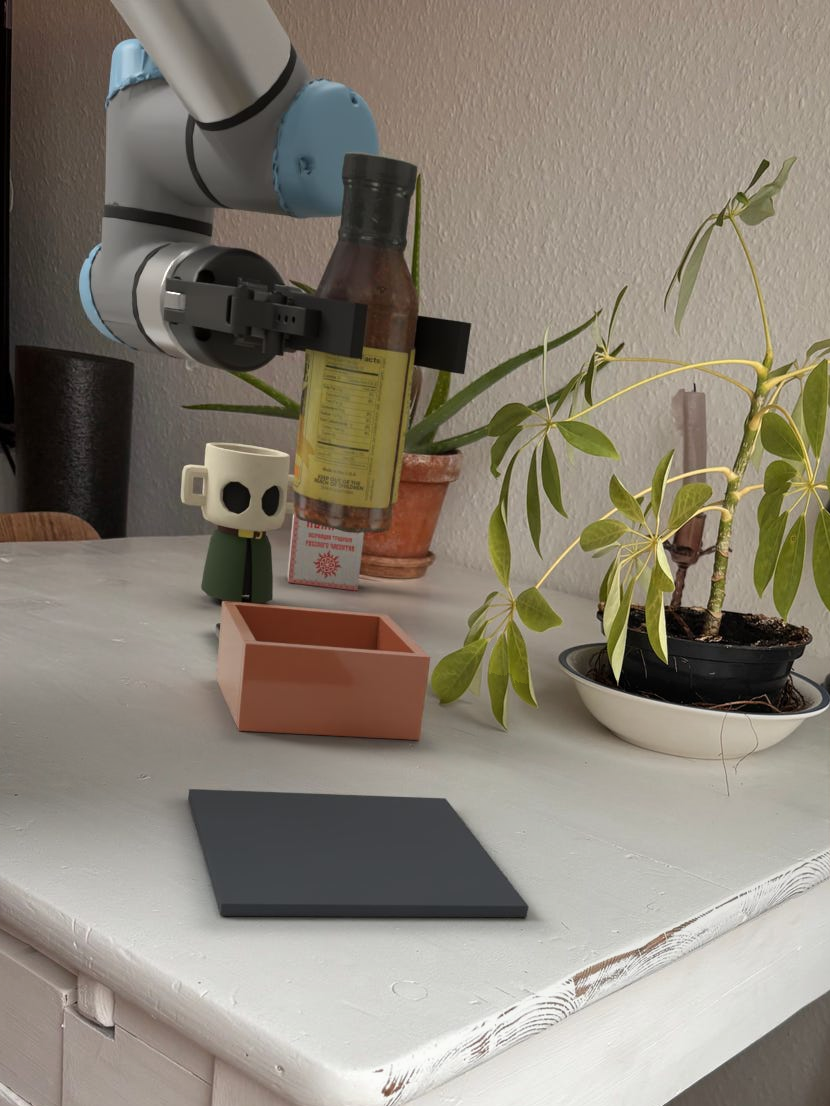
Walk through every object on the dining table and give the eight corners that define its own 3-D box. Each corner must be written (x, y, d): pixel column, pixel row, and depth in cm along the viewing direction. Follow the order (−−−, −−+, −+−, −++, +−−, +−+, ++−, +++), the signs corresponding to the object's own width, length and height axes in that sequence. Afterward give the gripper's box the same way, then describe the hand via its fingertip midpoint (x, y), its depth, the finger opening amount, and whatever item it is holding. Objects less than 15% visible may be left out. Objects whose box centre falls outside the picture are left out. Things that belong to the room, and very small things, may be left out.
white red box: (287, 575, 128) (296, 472, 124) (354, 583, 130) (366, 481, 126) (288, 582, 125) (298, 476, 121) (357, 590, 126) (369, 486, 123)
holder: (238, 731, 79) (245, 643, 77) (216, 679, 89) (221, 600, 87) (419, 740, 83) (430, 657, 81) (378, 689, 93) (387, 614, 91)
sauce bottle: (325, 513, 81) (365, 165, 74) (411, 534, 79) (461, 176, 72) (266, 517, 76) (304, 140, 69) (356, 539, 74) (406, 152, 66)
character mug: (184, 607, 108) (194, 447, 103) (165, 588, 114) (174, 436, 109) (307, 614, 113) (323, 461, 108) (283, 595, 119) (297, 450, 114)
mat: (220, 916, 55) (221, 903, 54) (187, 799, 67) (188, 788, 67) (526, 917, 59) (528, 905, 59) (444, 808, 72) (445, 797, 71)
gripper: (331, 382, 93) (534, 427, 77) (74, 348, 82) (249, 393, 65) (343, 270, 91) (555, 293, 74) (78, 218, 79) (262, 231, 63)
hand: (411, 339), depth 70 cm, fingers closed on sauce bottle, 6 cm apart
